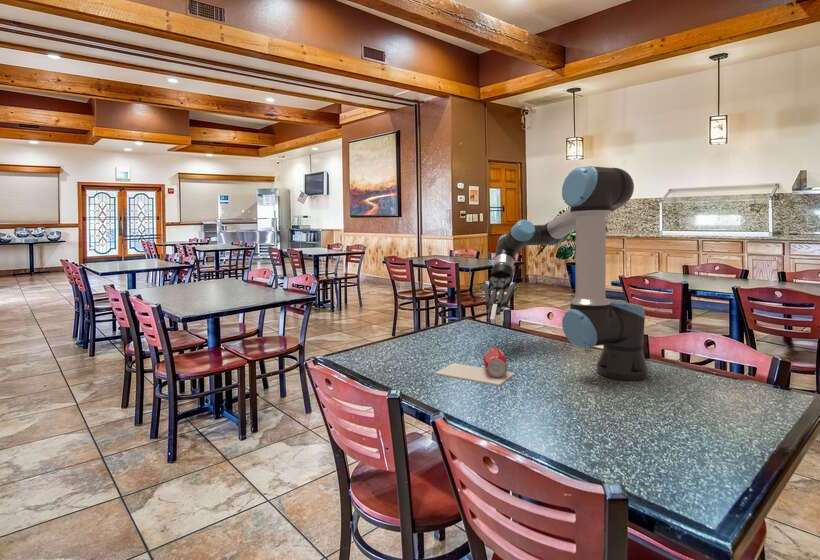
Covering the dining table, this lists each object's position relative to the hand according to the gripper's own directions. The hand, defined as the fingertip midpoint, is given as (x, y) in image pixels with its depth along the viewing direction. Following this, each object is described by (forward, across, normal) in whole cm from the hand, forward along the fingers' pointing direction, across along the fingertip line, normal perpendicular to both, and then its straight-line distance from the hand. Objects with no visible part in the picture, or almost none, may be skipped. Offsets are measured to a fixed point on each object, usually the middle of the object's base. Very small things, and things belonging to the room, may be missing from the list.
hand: (492, 321), depth 174 cm
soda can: (+13, -2, -1) cm, 13 cm away
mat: (+22, +2, +2) cm, 22 cm away
